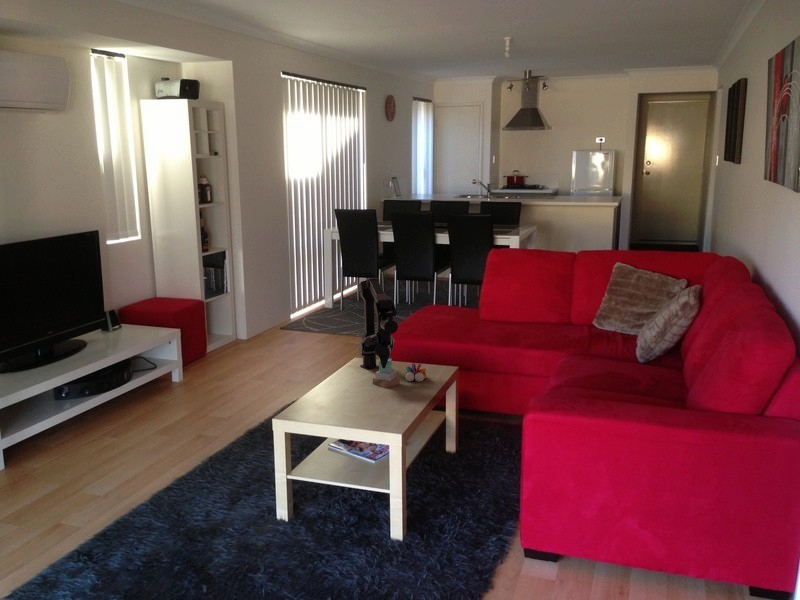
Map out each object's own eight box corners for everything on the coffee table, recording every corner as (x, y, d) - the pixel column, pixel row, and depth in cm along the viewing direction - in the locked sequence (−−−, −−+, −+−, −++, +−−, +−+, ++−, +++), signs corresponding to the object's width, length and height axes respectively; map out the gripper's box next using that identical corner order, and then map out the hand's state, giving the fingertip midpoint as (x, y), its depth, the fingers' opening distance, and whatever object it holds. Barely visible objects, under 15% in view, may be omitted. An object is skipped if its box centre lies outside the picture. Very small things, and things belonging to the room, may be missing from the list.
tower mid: (375, 379, 292) (375, 372, 292) (382, 375, 298) (382, 368, 298) (389, 381, 290) (389, 374, 289) (396, 376, 295) (396, 369, 295)
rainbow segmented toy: (425, 383, 295) (425, 366, 293) (402, 382, 296) (402, 365, 295) (428, 377, 303) (427, 361, 302) (405, 376, 304) (405, 360, 303)
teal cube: (379, 372, 291) (378, 361, 290) (379, 369, 296) (379, 357, 295) (391, 372, 291) (391, 361, 290) (391, 369, 296) (391, 357, 295)
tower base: (372, 385, 294) (372, 378, 294) (386, 381, 300) (386, 374, 299) (385, 389, 289) (385, 382, 288) (399, 384, 294) (399, 378, 294)
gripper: (368, 323, 300) (368, 358, 303) (361, 333, 282) (362, 371, 285) (394, 323, 299) (394, 359, 302) (389, 334, 281) (390, 371, 284)
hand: (385, 365), depth 293 cm, fingers open, 9 cm apart
